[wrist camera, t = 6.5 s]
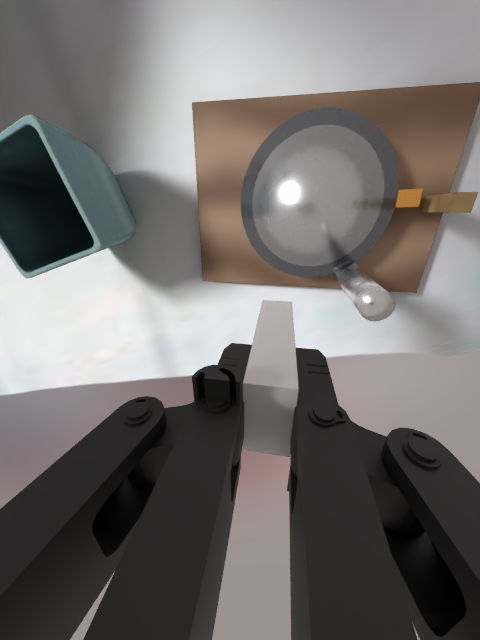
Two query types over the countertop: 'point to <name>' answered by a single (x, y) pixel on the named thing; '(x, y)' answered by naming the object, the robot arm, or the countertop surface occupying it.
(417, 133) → the base
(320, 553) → the robot arm
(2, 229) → the flower pot
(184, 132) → the countertop surface
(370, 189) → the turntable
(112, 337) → the countertop surface
